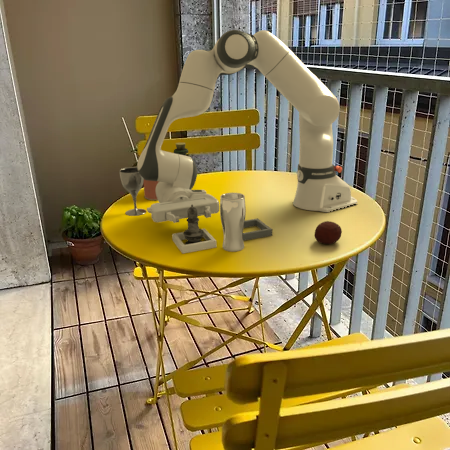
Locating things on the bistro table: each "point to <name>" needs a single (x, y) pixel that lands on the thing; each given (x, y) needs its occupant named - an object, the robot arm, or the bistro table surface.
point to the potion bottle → (181, 149)
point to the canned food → (150, 189)
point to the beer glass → (233, 220)
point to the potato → (328, 232)
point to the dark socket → (263, 232)
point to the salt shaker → (193, 227)
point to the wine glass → (132, 187)
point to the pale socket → (194, 246)
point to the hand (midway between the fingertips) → (192, 217)
